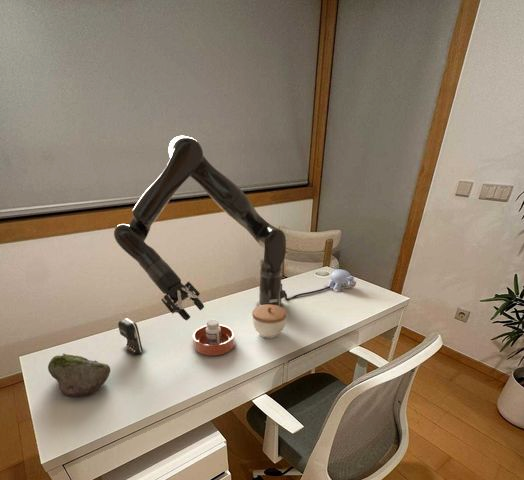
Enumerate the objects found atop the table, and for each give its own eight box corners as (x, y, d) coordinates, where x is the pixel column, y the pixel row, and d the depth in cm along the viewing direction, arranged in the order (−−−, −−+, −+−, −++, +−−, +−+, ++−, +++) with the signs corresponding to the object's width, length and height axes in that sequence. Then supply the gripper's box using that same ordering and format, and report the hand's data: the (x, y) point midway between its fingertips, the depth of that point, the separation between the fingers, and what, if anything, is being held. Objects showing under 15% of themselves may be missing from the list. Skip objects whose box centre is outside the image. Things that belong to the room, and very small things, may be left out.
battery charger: (123, 349, 111) (115, 320, 105) (133, 344, 114) (125, 316, 107) (133, 357, 108) (126, 327, 101) (143, 352, 110) (137, 323, 104)
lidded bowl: (247, 338, 119) (246, 311, 113) (259, 322, 129) (259, 297, 123) (279, 344, 116) (280, 317, 109) (289, 328, 125) (291, 302, 119)
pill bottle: (215, 338, 117) (214, 317, 112) (224, 344, 114) (223, 322, 109) (203, 343, 114) (201, 322, 109) (212, 349, 111) (211, 327, 106)
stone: (120, 386, 95) (112, 359, 89) (69, 409, 87) (56, 380, 81) (96, 359, 106) (88, 333, 100) (49, 377, 98) (37, 350, 92)
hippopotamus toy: (344, 295, 152) (348, 276, 147) (322, 285, 162) (325, 267, 157) (360, 291, 157) (363, 272, 152) (337, 281, 167) (340, 263, 162)
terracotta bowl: (217, 330, 123) (216, 320, 120) (242, 345, 115) (242, 334, 112) (186, 345, 114) (184, 334, 112) (211, 361, 106) (210, 350, 104)
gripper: (154, 277, 100) (189, 317, 103) (181, 263, 111) (212, 300, 114) (144, 290, 105) (178, 328, 107) (171, 275, 115) (201, 310, 118)
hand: (195, 313), depth 110 cm, fingers open, 8 cm apart
